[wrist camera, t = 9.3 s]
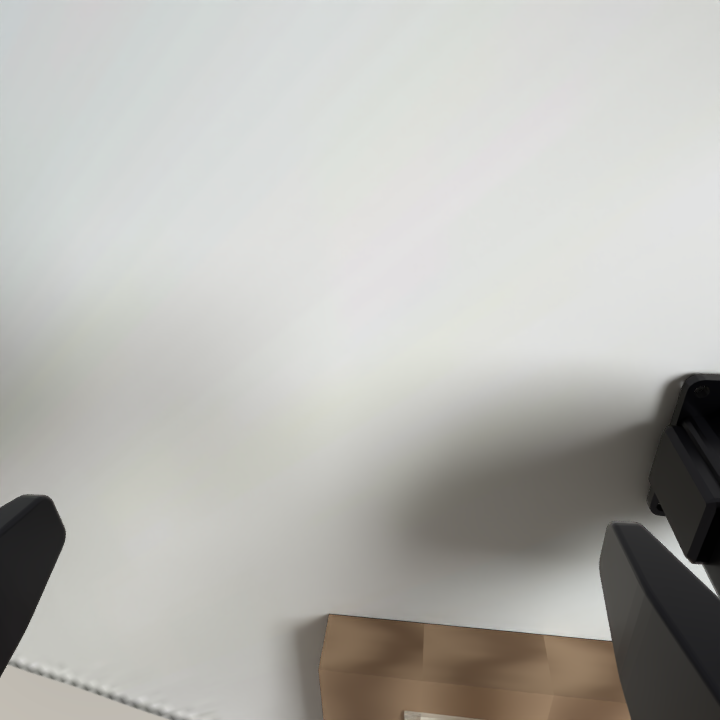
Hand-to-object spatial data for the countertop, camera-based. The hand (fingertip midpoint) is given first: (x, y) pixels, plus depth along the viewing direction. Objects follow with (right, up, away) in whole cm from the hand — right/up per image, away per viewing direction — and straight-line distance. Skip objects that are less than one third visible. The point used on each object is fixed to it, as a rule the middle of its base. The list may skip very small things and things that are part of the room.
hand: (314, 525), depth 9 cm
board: (+7, -17, +23) cm, 29 cm away
